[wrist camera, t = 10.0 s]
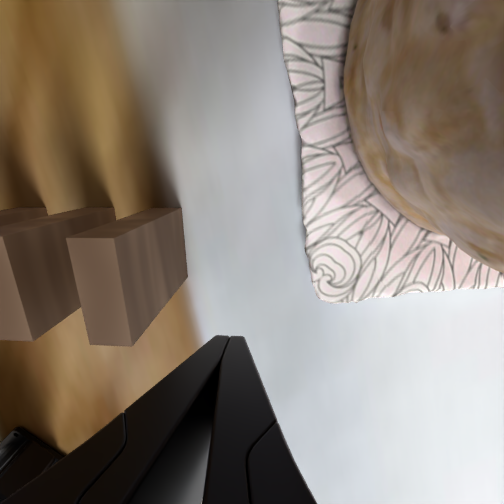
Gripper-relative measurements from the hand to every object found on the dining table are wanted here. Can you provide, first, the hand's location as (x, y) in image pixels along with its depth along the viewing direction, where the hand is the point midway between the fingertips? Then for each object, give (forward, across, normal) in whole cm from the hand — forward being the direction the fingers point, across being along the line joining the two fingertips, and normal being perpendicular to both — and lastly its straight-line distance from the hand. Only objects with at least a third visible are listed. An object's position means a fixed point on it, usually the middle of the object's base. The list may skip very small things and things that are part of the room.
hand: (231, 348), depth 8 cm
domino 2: (+11, +6, 0) cm, 13 cm away
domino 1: (+11, +11, 0) cm, 15 cm away
